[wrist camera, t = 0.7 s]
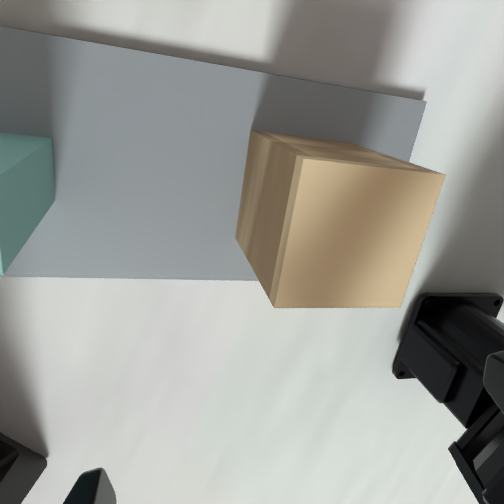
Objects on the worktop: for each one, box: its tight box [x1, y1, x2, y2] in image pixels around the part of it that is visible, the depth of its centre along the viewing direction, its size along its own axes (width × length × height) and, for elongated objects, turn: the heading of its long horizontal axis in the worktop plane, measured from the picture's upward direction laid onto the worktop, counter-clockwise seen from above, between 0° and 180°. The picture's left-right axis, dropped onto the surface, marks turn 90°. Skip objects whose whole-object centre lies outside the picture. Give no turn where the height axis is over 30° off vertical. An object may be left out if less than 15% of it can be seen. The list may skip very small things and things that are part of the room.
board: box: [0, 26, 427, 281], centre depth 18 cm, size 24×10×1 cm, turn 81°
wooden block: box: [235, 130, 446, 308], centre depth 16 cm, size 5×5×7 cm
